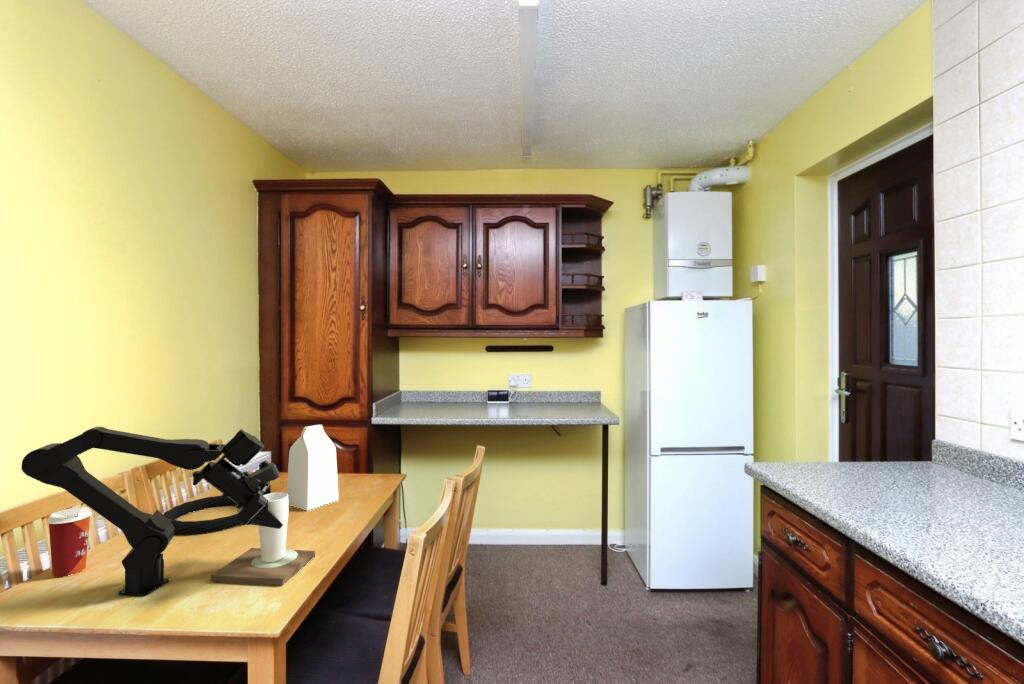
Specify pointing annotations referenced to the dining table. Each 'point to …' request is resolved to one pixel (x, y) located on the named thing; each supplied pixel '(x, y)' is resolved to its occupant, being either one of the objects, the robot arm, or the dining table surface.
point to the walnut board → (262, 568)
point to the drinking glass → (275, 529)
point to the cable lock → (203, 525)
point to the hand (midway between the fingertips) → (281, 520)
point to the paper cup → (69, 540)
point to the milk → (312, 470)
